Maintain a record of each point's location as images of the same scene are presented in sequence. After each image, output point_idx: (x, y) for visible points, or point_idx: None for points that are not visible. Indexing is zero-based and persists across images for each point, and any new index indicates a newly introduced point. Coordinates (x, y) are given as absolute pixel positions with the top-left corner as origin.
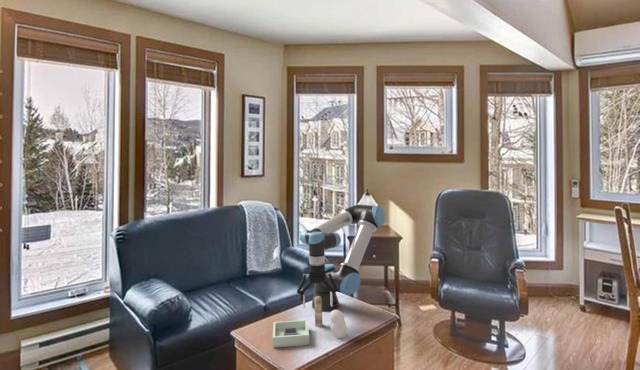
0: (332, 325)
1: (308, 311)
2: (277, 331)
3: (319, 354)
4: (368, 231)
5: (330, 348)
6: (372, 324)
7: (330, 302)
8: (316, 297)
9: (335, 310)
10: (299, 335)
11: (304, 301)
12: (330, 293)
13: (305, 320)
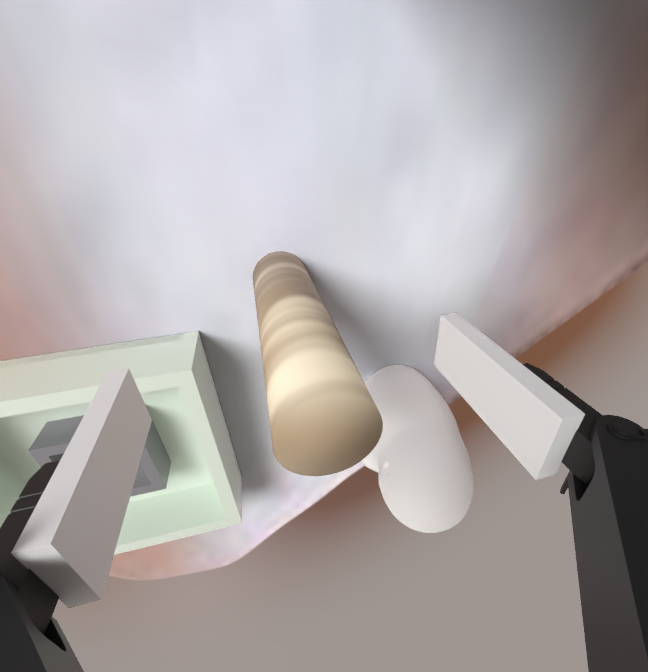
0: (377, 471)
1: None
2: None
3: (289, 517)
4: None
5: (334, 483)
6: (595, 271)
7: (455, 336)
8: (305, 439)
9: (442, 528)
10: (188, 535)
11: (127, 492)
12: (539, 430)
13: (182, 381)
